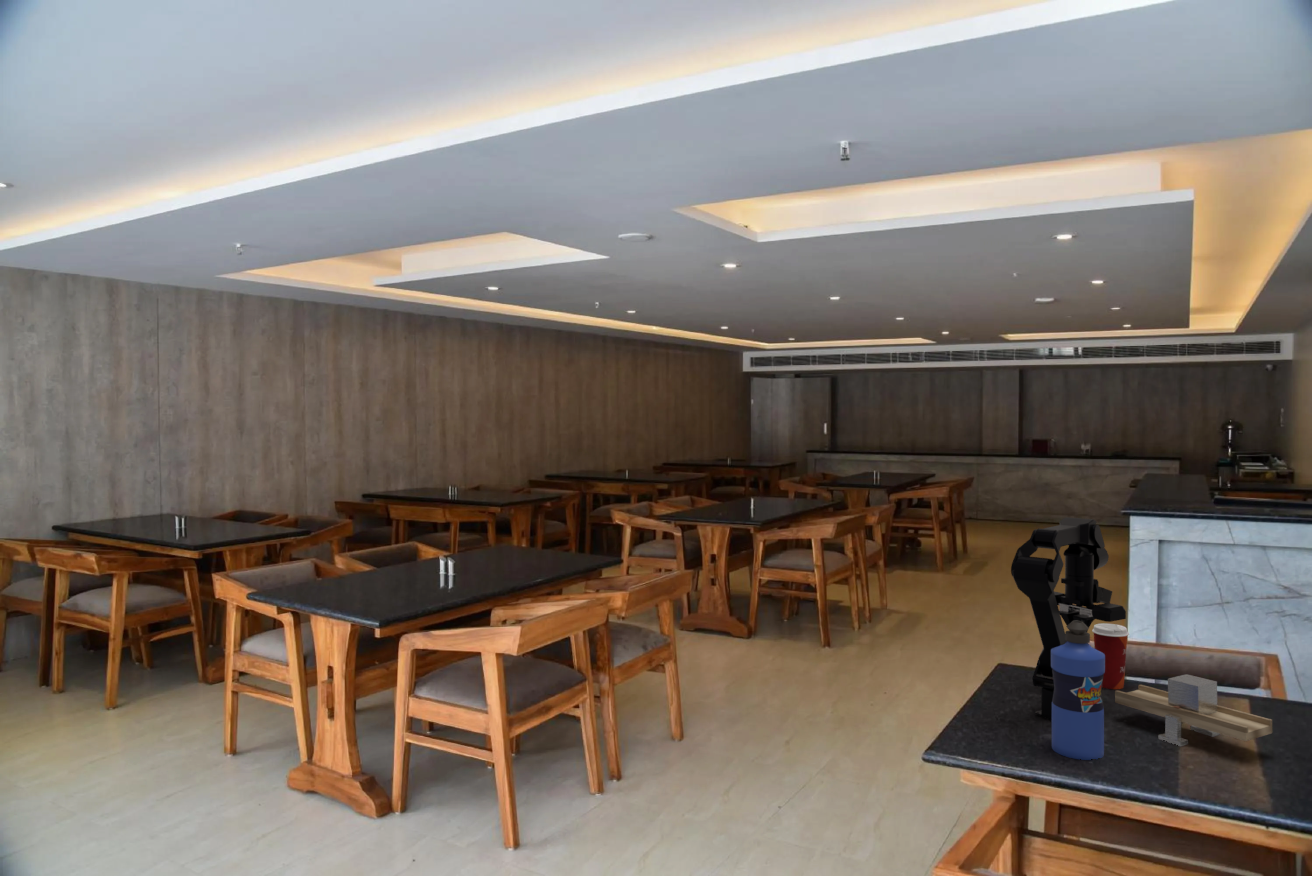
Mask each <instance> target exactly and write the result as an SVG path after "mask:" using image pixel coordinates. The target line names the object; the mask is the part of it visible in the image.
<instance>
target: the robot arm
mask: <svg viewBox="0 0 1312 876" xmlns="http://www.w3.org/2000/svg"><path fill="white" fill-rule="evenodd" d="M1064 546H1068V547H1067V548H1066V549H1065V550H1064V551H1063V556H1064V561H1063V559H1062V557H1061V556H1062V555H1061V554H1060V550H1061V548H1062V547H1064ZM1105 547H1106V544H1105V542H1104V538H1103V534H1102V531H1101V527H1100V525H1099V524H1097V521H1096V519H1091V518H1082V517H1081V518H1080V517H1067V516H1066V517H1064V518H1062V519H1061V520H1060V521H1059V525H1055V526H1050V527H1049V526H1048V527H1044V528H1037V529H1033V531H1032V533H1031V536H1030V538H1029V539H1028V540H1027V541H1025V543H1023V544H1022V545H1020V546H1019V547H1018V548H1017V550H1016V553H1015V555H1014V558H1013V560H1012V562H1011V567H1010V572H1011V573H1010V574H1011V577H1012V578H1013V580H1014V583H1015V584H1016V587H1017V589H1018V590H1019V591H1020V592H1022V593H1023V594H1024V595H1025V596H1026V597H1027V598H1028V599H1029V602H1030V605H1031V609H1032V613H1033V616H1034V619H1035V622H1036V627H1037V630H1038V633H1039V637H1040V641H1041V644H1042V647H1043V648H1042V650H1041V651H1040V654H1039V656H1038V659H1037V663H1036V666H1035V669H1034V672H1033V675H1032V683H1033V684H1032V685H1033V687H1039V688H1041V689H1040V691H1041V692H1040V694H1041V695H1040V696H1041V697H1040V699H1041V701H1040V702H1041V703H1040V704H1041V707H1040V708H1041V709H1040V710H1036V711H1034V713H1035V715H1037V716H1040V717H1042V718H1045V719H1047V720H1050V721H1052V699H1053V693H1054V681H1053V673H1052V668H1051V649H1052V648H1055V647H1058V646H1060V645H1063V644H1065V643H1066V642H1067V641H1066V640H1065V632H1066V631H1065V629H1064V623H1065V625H1066V626H1067V625H1068V624H1070V623H1071V622H1072V621H1074V620H1078V621H1082V622H1083V623H1084V624H1085V625H1086V626H1087V627H1088V628H1089V629H1090V627H1091V624H1092V623H1093V622H1094V621H1095V620H1098V621H1103V622H1105V623H1106V622H1107V623H1109V622H1117V621H1121V620H1122V621H1123V620H1126V619H1127V613H1126V612H1127V611H1126V609H1125V608H1124V606H1123V605H1119V604H1116V603H1111V599H1112V596H1113V591H1112V590H1110V589H1108V588H1105V587H1102V586H1100V585H1099V580H1098V579H1096V578H1094V576H1095V574H1094V571H1095V570H1099V569H1100V568H1102V567H1104V566H1106V564H1108V562H1109V554H1108V553H1109V552H1108V551H1107V549H1106V548H1105ZM1038 549H1048V550H1054V551H1055V557H1054V559H1053V558H1047V557H1037V556H1033V554H1035V553H1036V552H1037V551H1038ZM1063 567H1064V577H1063V578H1060V577H1061V574H1062V570H1063ZM1059 581H1060V583H1061V584H1064V593H1063V592H1058V591H1054V590H1055V588H1056V587H1057V584H1058V582H1059ZM1100 603H1101V604H1100ZM1063 622H1064V623H1063ZM1089 629H1088V630H1087V631H1086V632H1087V633H1088V631H1089ZM1068 631H1070V630H1069V629H1068ZM1047 677H1048V678H1047Z"/></svg>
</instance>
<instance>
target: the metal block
mask: <svg viewBox="0 0 1312 876" xmlns="http://www.w3.org/2000/svg"><path fill="white" fill-rule="evenodd" d="M1167 692H1168V705H1172V706H1179V707H1181V708H1183V709H1186V710H1190V711H1193V712H1197V713H1200V714H1204V715H1209V714H1212V713H1216V712H1217V705H1218V681H1217V680H1212V679H1208V678H1203V677H1199V676H1194V675H1191V674H1181V675H1177V676H1173V677H1169V678H1167Z"/></svg>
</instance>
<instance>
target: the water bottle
mask: <svg viewBox="0 0 1312 876" xmlns="http://www.w3.org/2000/svg"><path fill="white" fill-rule="evenodd" d="M1066 629H1068V630H1066V631H1065V640H1066V641H1067V642H1066V643H1065V644H1063V645H1060V646H1058V647H1055V648H1052V649H1051V668H1052V673H1053V678H1052V679H1053V681H1054V693H1053V699H1052V720H1051V749H1052V750H1053V751H1054V753H1057V754H1058V755H1061V756H1063V757H1066V758H1069V759H1073V760H1080V759H1081V761H1092V760H1091V759H1096V760H1099V759H1098V758H1100V759H1101V758H1104V755H1105V709H1104V708H1105V706H1104V702H1103V694H1102V691H1103V688H1102V684H1103V676H1104V673H1105V655H1104V653H1102V652H1100V651H1098V650H1096V649H1095V647H1092V646H1091V645H1090V643H1091V634H1090V632H1088V631H1089V629H1090V627H1089V628H1088V627H1087V626H1086V625H1085V624H1084V623H1083V622H1082V621H1078V620H1074V621H1072V622H1071V623H1070V624H1068V625H1066ZM1069 630H1070V631H1069ZM1087 630H1088V631H1087ZM1086 631H1087V632H1086Z"/></svg>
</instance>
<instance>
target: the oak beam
mask: <svg viewBox="0 0 1312 876" xmlns="http://www.w3.org/2000/svg"><path fill="white" fill-rule="evenodd" d="M1137 687H1138V689H1136V690H1132V691H1128V692H1125V691H1121V690H1120V689H1115V691H1114V700H1115V701H1114V703H1116V704H1118V705H1122V706H1126V707H1128V708H1132V709H1136V710H1139V711H1143V712H1146V713H1148V714H1152V715H1156V716H1159V717H1163V718H1165V715H1168V714H1171V715H1174V716H1177V717H1180V718H1181V725H1182V724H1186V725H1189V726H1191V725H1192V726H1196V727H1199V728H1203V729H1206V730H1209V731H1213V732H1216V733H1219V734H1220V735H1223V736H1226V737H1230V738H1234V739H1237V740H1240V741H1244V742H1248V741H1251V740H1255V739H1258V738H1261V737H1264V736H1267V735H1271V734H1273V719H1271V718H1267V717H1263V716H1260V715H1256V714H1252V713H1249V712H1245V711H1242V710H1237V709H1233V708H1230V707H1226V706H1223V705H1218V704H1217V712H1216V713H1212V714H1209V715H1204V714H1200V713H1197V712H1193V711H1190V710H1186V709H1183V708H1181V707H1179V706H1172V705H1168V690H1167V691H1166V690H1162V689H1159V688H1156V687H1152V686H1147V685H1144V684H1138V686H1137Z"/></svg>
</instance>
